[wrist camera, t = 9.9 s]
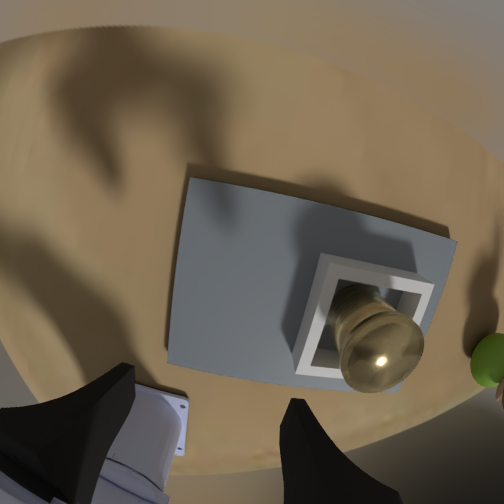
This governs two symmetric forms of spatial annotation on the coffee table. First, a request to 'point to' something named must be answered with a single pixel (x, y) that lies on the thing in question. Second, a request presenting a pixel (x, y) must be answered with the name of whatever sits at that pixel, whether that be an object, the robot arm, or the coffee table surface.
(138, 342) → the coffee table surface
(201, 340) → the fitting board
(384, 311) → the brass door knob
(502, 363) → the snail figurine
